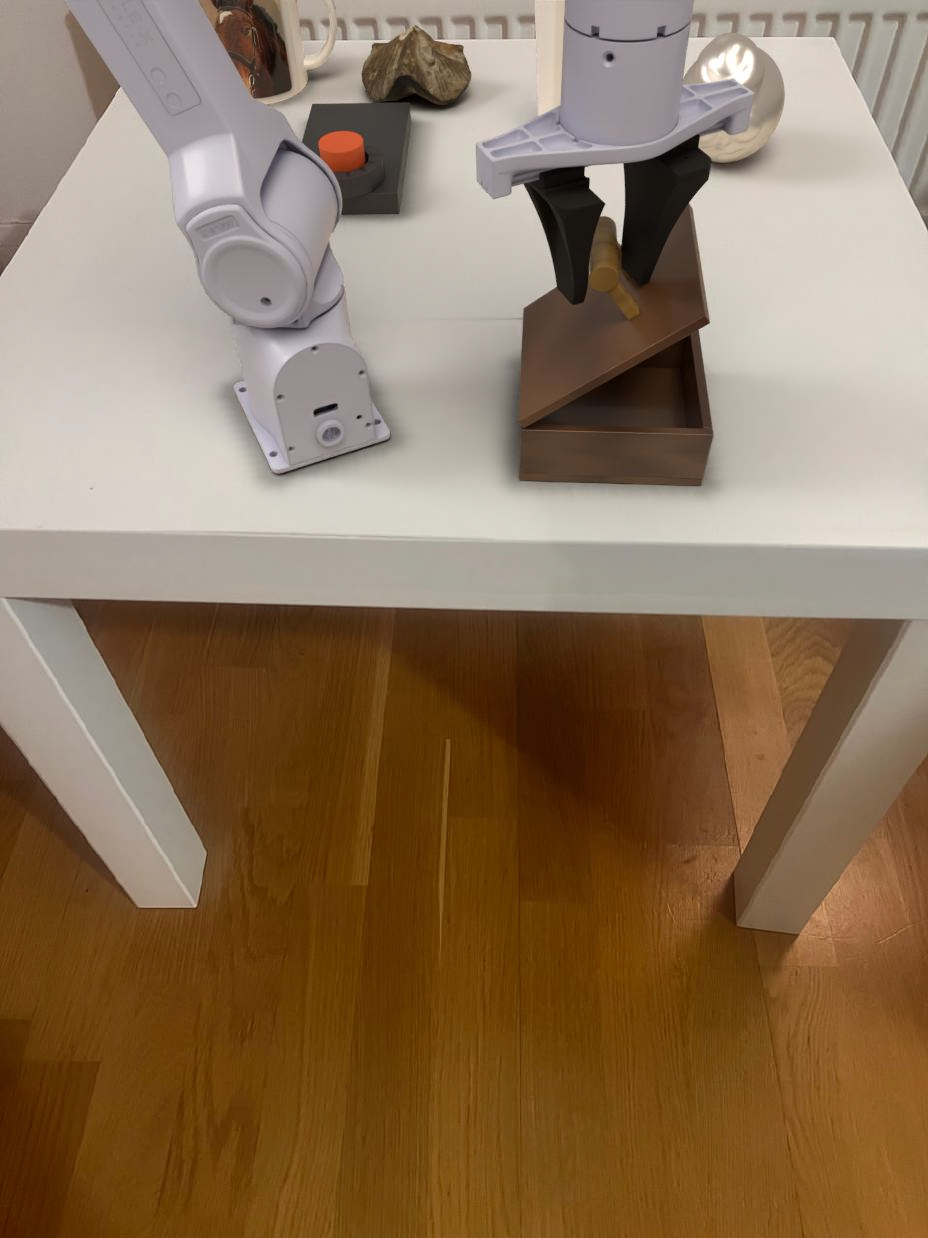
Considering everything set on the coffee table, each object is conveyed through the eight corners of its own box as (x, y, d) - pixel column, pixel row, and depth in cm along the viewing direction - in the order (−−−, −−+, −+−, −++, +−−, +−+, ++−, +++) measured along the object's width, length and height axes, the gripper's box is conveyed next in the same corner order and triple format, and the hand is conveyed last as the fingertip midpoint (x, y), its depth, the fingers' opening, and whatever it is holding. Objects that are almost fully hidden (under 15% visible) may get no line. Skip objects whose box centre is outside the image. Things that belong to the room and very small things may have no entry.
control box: (398, 219, 77) (395, 178, 74) (289, 220, 77) (282, 179, 74) (411, 123, 87) (408, 83, 84) (315, 124, 87) (309, 84, 85)
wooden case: (687, 370, 64) (697, 318, 61) (701, 486, 57) (714, 435, 54) (523, 366, 65) (525, 315, 62) (519, 480, 58) (520, 430, 55)
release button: (363, 173, 75) (361, 151, 74) (318, 174, 75) (315, 152, 74) (367, 151, 78) (365, 130, 76) (324, 152, 78) (321, 130, 76)
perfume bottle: (592, 143, 84) (609, -54, 72) (553, 158, 82) (564, -41, 70) (561, 124, 86) (572, -70, 74) (522, 138, 85) (527, -58, 73)
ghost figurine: (641, 156, 82) (657, 30, 74) (715, 122, 86) (738, -1, 78) (719, 197, 78) (745, 67, 70) (794, 159, 81) (826, 32, 73)
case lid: (693, 208, 55) (653, 147, 52) (710, 323, 48) (666, 260, 46) (528, 314, 62) (486, 264, 59) (523, 428, 55) (475, 378, 52)
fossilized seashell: (485, 57, 89) (395, 59, 93) (459, 3, 83) (364, 8, 87) (463, 130, 89) (374, 129, 93) (435, 81, 83) (341, 82, 87)
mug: (261, 52, 97) (238, -76, 88) (350, 79, 93) (335, -52, 84) (188, 90, 92) (156, -41, 83) (278, 121, 88) (255, -13, 79)
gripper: (715, -42, 46) (676, 219, 57) (445, 17, 43) (458, 282, 54) (802, 7, 42) (742, 278, 53) (511, 76, 39) (511, 349, 50)
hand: (603, 284), depth 53 cm, fingers closed on case lid, 4 cm apart
